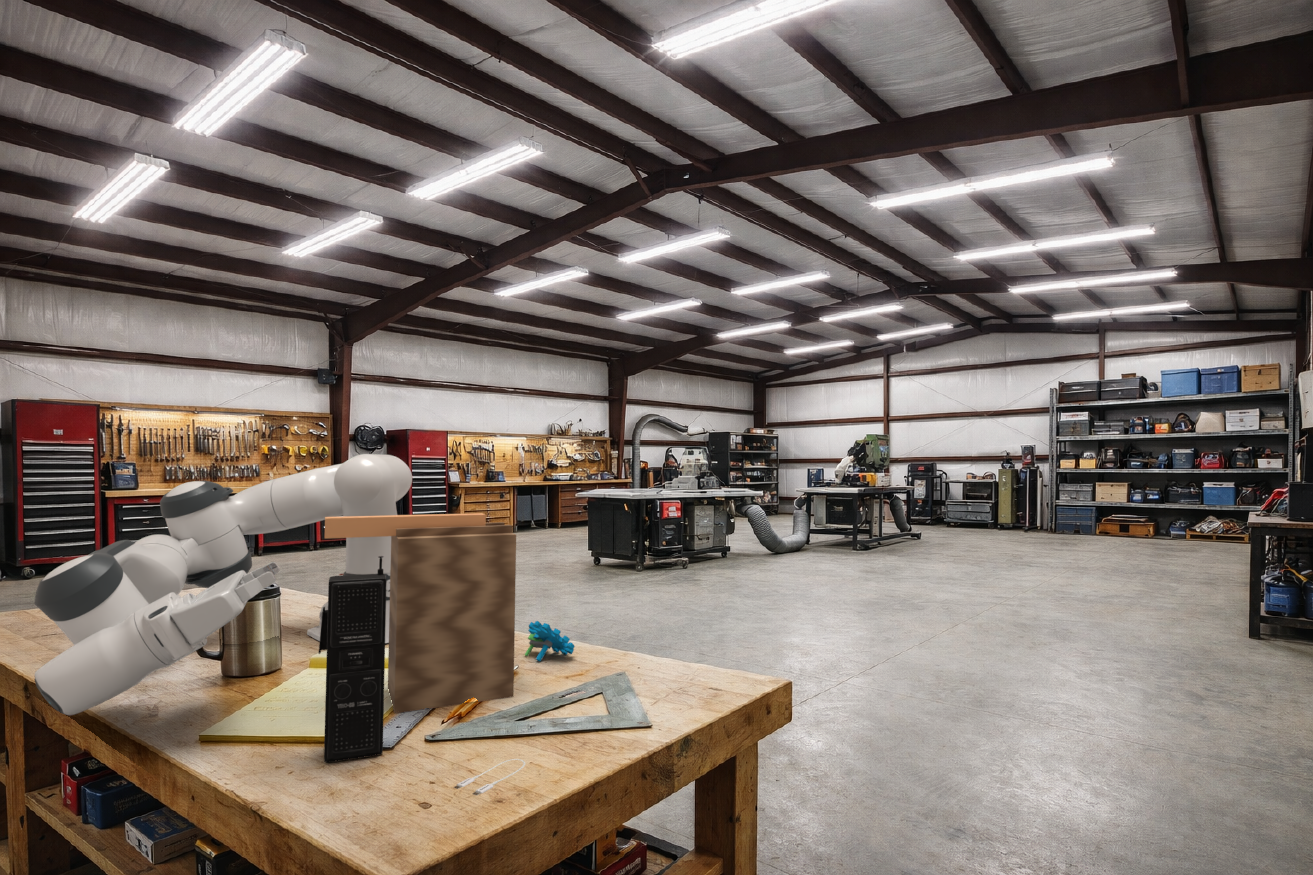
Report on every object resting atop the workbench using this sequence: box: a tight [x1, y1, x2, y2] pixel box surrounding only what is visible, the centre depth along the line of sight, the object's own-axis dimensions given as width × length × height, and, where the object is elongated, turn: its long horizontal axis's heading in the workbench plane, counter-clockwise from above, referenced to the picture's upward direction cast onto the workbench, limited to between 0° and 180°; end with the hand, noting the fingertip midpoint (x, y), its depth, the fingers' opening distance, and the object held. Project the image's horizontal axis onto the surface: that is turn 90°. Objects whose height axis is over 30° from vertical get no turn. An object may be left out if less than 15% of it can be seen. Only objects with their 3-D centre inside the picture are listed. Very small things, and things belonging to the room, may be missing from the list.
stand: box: [387, 521, 517, 714], centre depth 113 cm, size 18×12×27 cm, turn 116°
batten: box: [324, 512, 487, 539], centre depth 110 cm, size 24×3×3 cm, turn 116°
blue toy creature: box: [524, 620, 576, 663], centre depth 132 cm, size 11×6×10 cm
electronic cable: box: [453, 758, 526, 796], centre depth 83 cm, size 4×10×1 cm, turn 150°
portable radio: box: [318, 556, 387, 764], centre depth 90 cm, size 8×6×25 cm
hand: (275, 570), depth 102 cm, fingers open, 8 cm apart
